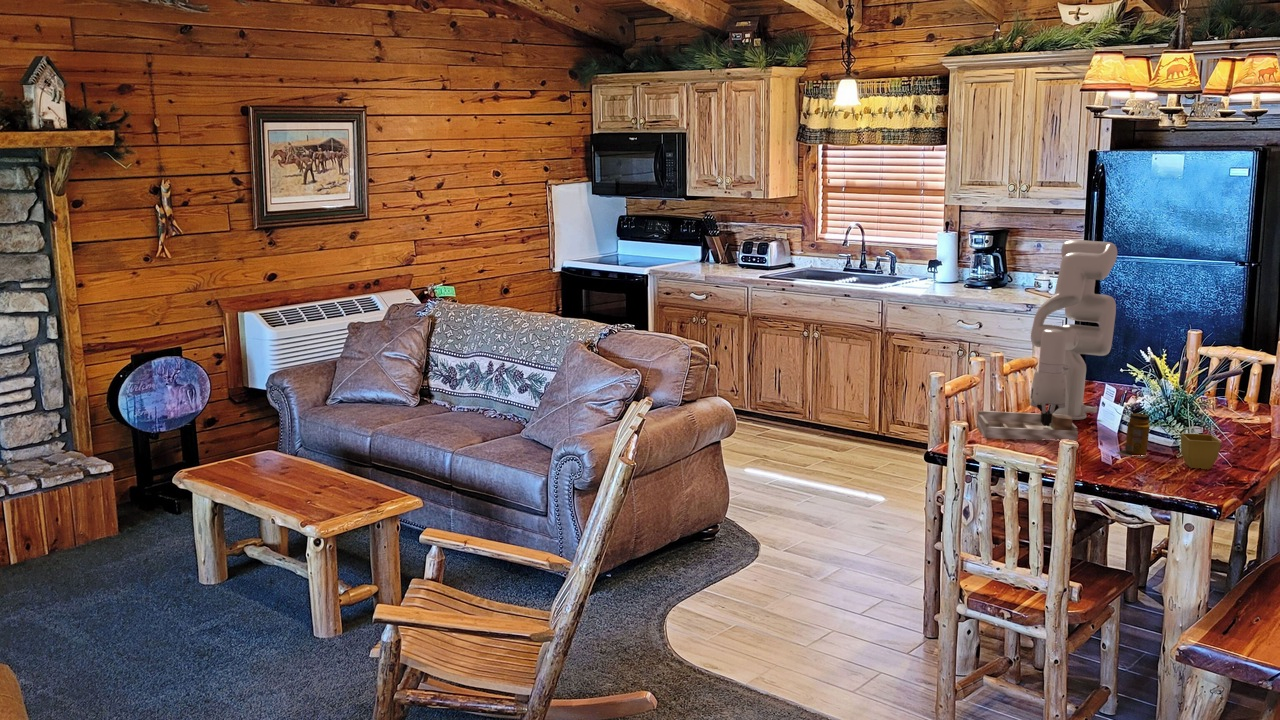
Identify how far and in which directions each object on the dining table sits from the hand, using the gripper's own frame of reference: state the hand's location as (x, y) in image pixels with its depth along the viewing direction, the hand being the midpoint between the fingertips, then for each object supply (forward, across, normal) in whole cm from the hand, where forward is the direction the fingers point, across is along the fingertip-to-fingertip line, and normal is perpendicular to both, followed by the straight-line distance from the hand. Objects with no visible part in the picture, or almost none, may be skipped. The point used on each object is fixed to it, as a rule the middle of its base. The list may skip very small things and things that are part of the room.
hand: (1045, 424), depth 357 cm
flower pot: (+4, -36, +29) cm, 46 cm away
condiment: (+4, -22, +17) cm, 28 cm away
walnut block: (+1, -5, 0) cm, 5 cm away
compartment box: (+4, +6, 0) cm, 7 cm away
